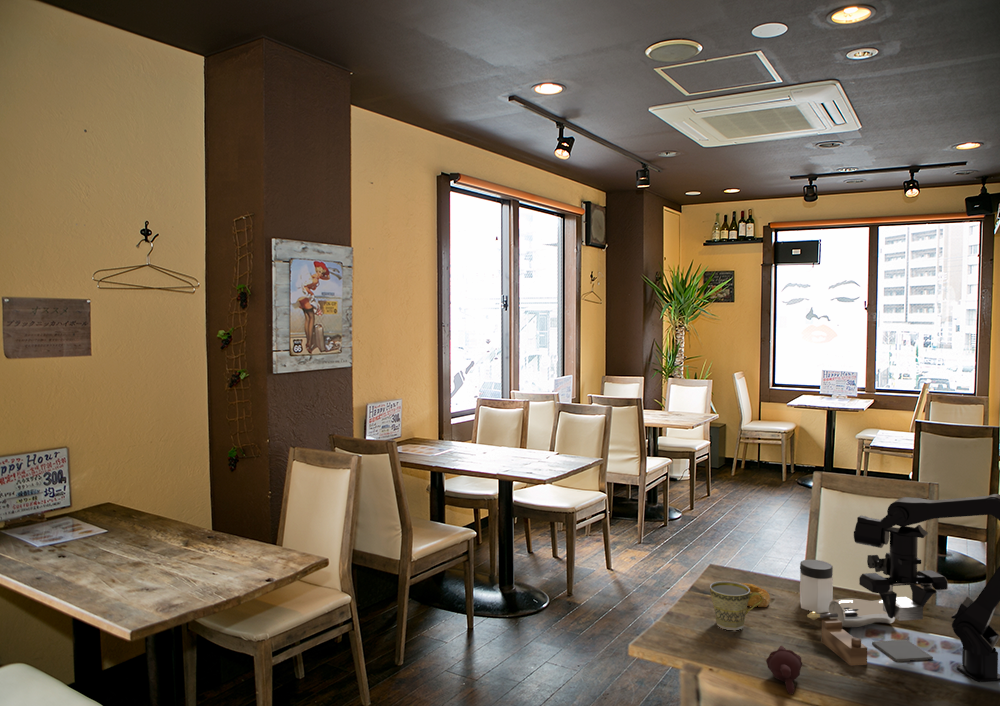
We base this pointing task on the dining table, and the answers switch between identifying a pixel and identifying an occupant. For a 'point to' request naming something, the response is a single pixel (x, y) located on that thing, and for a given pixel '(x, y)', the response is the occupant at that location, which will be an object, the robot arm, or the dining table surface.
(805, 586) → the jar
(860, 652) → the plane body
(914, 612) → the square block
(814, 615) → the lever
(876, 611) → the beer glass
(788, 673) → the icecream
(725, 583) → the ceramic cup
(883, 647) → the mat
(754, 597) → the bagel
